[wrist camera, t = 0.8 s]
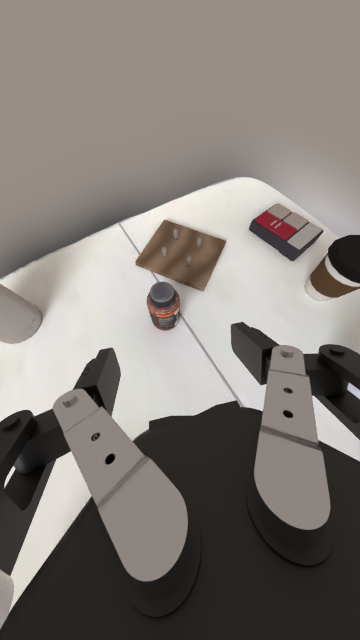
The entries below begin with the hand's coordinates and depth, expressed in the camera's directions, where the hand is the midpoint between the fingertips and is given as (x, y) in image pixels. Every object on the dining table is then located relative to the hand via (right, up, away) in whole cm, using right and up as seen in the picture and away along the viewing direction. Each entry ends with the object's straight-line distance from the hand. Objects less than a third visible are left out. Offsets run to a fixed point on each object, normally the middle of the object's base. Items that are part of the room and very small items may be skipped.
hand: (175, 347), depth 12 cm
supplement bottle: (-3, +2, +28) cm, 28 cm away
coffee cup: (+33, +9, +32) cm, 47 cm away
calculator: (+29, +25, +39) cm, 55 cm away
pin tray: (+1, +19, +35) cm, 40 cm away
